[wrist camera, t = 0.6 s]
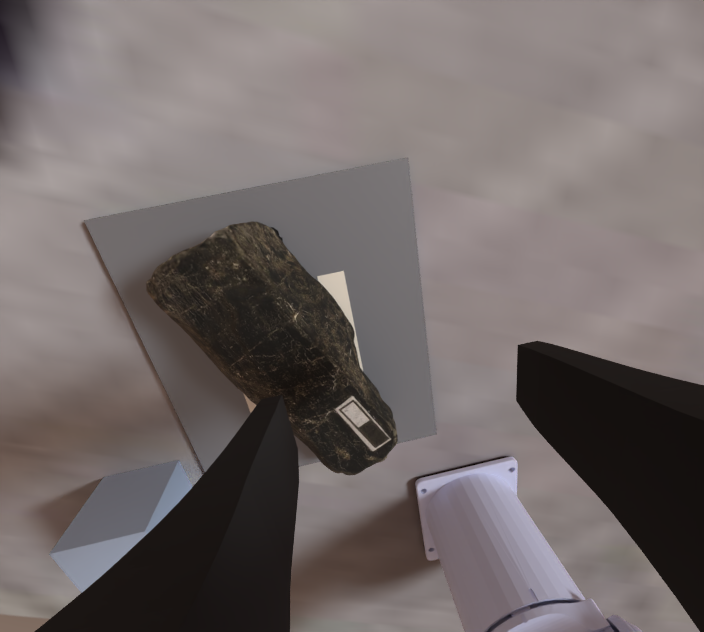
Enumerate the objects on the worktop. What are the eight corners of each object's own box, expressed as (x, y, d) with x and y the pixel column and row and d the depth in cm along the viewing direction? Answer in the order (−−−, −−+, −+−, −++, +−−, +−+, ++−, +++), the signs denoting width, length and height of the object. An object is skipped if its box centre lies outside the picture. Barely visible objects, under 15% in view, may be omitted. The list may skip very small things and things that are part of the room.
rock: (248, 198, 16) (230, 203, 12) (416, 391, 22) (442, 438, 18) (136, 297, 17) (85, 332, 13) (325, 456, 23) (330, 514, 19)
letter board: (434, 430, 24) (436, 434, 23) (213, 482, 23) (212, 487, 23) (406, 158, 17) (408, 157, 16) (89, 219, 16) (83, 220, 16)
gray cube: (205, 509, 24) (180, 587, 19) (136, 526, 24) (94, 608, 19) (179, 459, 22) (144, 531, 17) (104, 476, 22) (48, 554, 17)
